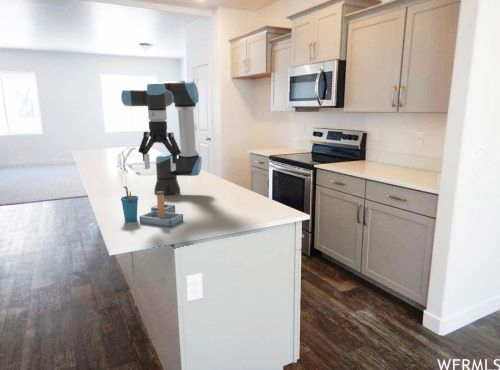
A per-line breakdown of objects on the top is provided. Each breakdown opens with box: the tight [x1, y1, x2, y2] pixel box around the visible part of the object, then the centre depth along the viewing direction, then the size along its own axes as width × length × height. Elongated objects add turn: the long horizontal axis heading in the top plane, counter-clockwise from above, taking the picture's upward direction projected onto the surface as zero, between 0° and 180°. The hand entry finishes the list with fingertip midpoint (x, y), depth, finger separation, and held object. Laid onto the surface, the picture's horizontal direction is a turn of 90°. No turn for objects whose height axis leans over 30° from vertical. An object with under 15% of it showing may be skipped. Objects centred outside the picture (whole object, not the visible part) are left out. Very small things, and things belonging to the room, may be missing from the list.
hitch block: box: [150, 203, 176, 213], centre depth 172 cm, size 8×8×4 cm
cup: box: [120, 185, 139, 223], centre depth 162 cm, size 14×8×15 cm, turn 34°
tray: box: [138, 210, 184, 228], centre depth 160 cm, size 16×10×3 cm, turn 68°
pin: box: [156, 191, 165, 219], centre depth 159 cm, size 3×3×13 cm
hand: (160, 169), depth 159 cm, fingers open, 13 cm apart
